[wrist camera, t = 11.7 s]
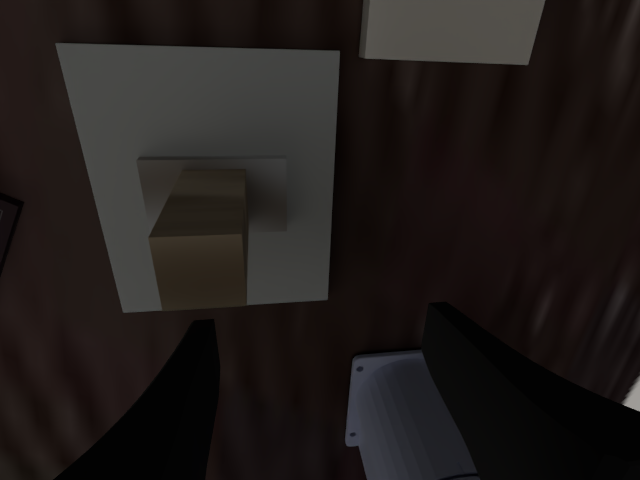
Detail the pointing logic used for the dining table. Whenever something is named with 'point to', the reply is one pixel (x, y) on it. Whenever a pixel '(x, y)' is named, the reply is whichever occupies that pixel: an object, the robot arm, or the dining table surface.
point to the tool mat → (209, 148)
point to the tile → (450, 30)
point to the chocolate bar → (7, 224)
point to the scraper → (209, 223)
